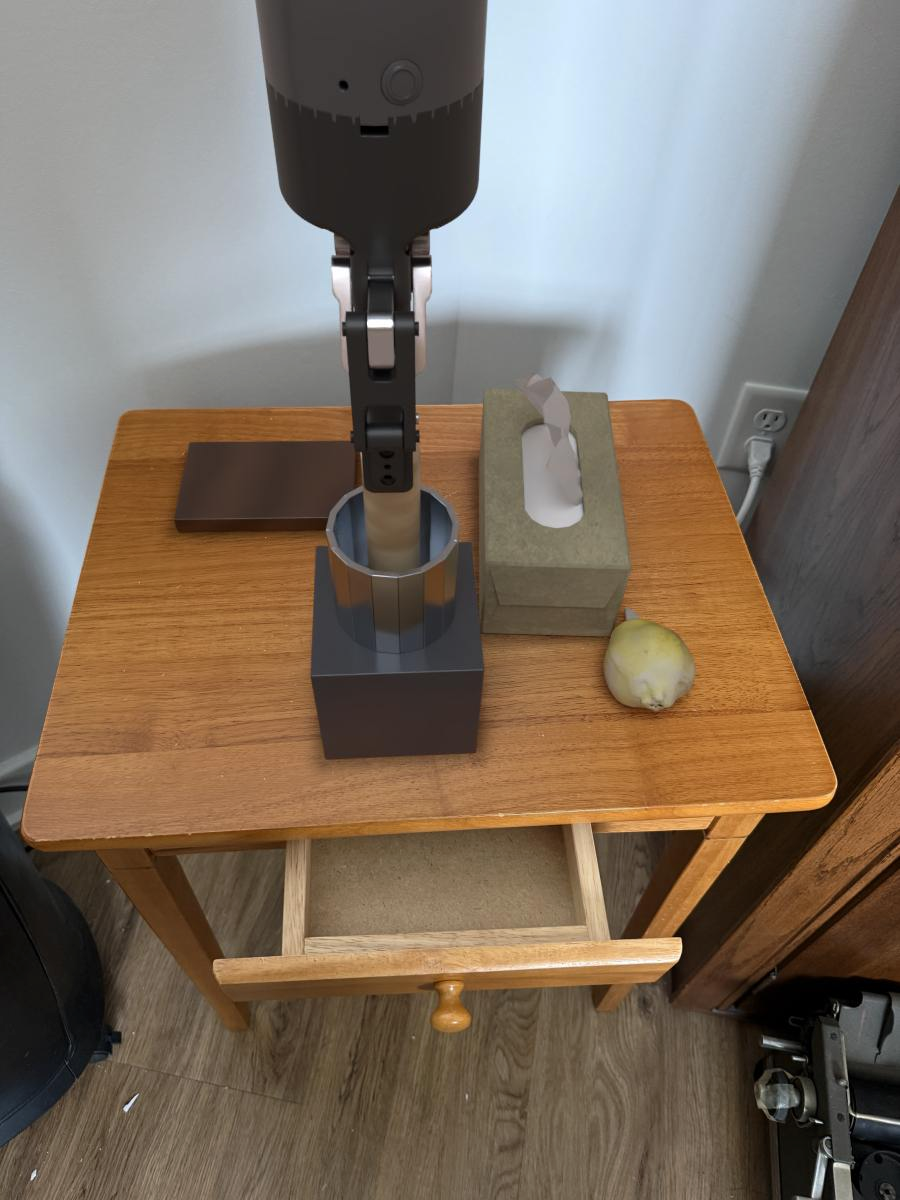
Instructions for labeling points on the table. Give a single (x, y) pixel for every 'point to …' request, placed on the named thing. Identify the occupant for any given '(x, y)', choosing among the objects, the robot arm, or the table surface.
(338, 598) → the tin
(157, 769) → the table surface
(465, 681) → the stand
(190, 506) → the board
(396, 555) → the stick
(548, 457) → the tissue box
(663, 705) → the fruit
